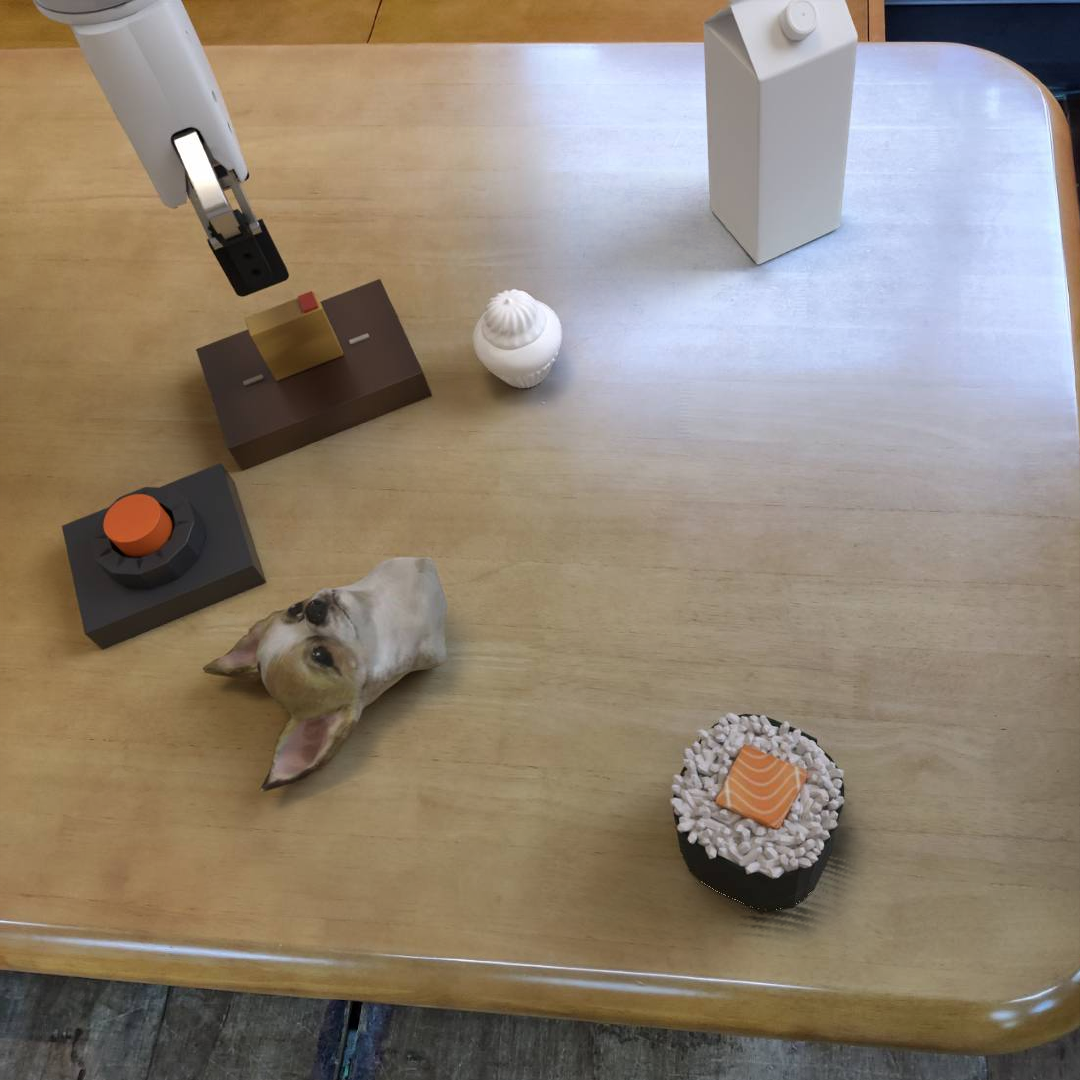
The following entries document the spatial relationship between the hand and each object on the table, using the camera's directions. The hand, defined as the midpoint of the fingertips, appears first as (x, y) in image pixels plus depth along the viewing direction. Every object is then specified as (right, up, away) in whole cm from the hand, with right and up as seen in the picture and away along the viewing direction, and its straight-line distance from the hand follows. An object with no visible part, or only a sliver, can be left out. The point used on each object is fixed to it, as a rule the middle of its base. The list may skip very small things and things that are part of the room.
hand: (244, 233), depth 66 cm
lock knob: (+1, -5, +10) cm, 12 cm away
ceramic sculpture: (+7, -27, +1) cm, 28 cm away
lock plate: (+1, -6, +13) cm, 14 cm away
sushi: (+30, -35, -6) cm, 47 cm away
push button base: (-7, -19, +6) cm, 22 cm away
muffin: (+16, -6, +12) cm, 20 cm away
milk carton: (+34, +7, +16) cm, 38 cm away
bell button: (-7, -18, +3) cm, 20 cm away
